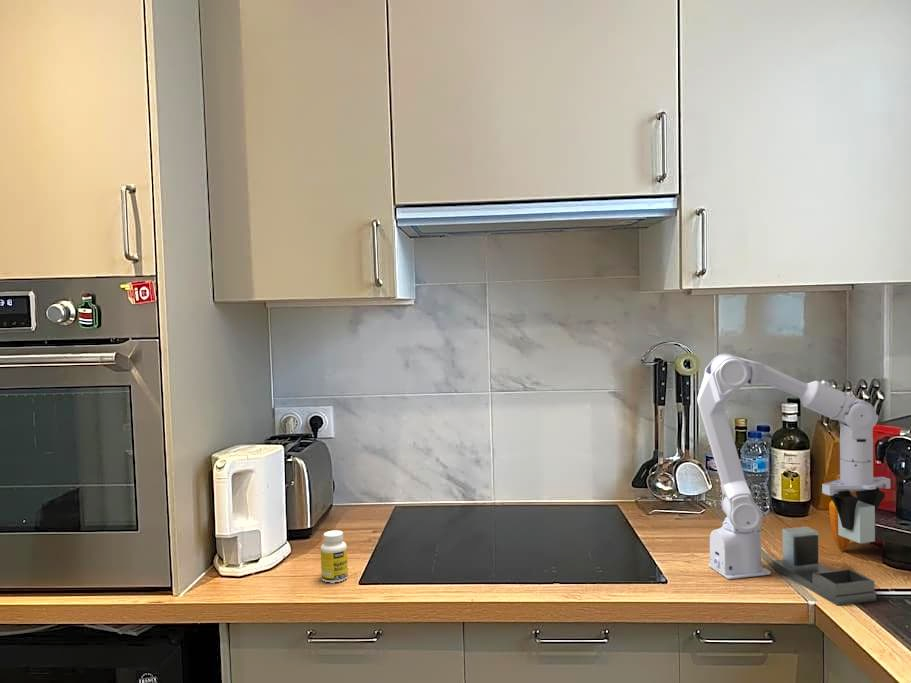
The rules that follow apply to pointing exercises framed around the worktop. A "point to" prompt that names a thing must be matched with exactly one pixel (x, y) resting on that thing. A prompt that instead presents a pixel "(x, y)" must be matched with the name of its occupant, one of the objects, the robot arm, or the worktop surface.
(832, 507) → the carrot
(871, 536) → the pale green upright block
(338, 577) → the supplement bottle
